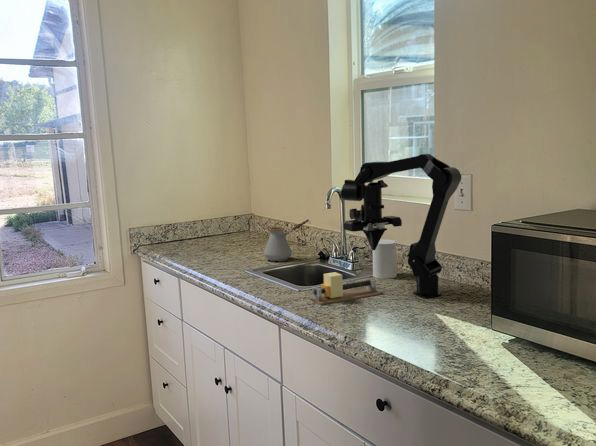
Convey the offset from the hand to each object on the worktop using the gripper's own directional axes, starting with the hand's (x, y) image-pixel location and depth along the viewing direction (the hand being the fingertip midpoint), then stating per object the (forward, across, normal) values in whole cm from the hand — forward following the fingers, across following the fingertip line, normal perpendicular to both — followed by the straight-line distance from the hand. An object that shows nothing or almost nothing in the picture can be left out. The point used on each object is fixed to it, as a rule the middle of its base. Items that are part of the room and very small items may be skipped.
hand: (373, 250), depth 183 cm
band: (+11, +20, +5) cm, 24 cm away
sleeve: (+12, +18, +5) cm, 22 cm away
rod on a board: (+12, +14, +5) cm, 19 cm away
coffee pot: (+12, +4, -57) cm, 58 cm away
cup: (+12, -11, -10) cm, 19 cm away
